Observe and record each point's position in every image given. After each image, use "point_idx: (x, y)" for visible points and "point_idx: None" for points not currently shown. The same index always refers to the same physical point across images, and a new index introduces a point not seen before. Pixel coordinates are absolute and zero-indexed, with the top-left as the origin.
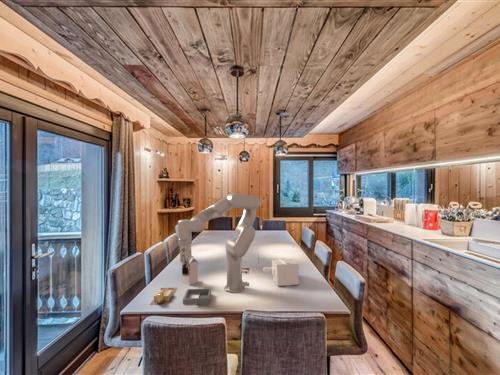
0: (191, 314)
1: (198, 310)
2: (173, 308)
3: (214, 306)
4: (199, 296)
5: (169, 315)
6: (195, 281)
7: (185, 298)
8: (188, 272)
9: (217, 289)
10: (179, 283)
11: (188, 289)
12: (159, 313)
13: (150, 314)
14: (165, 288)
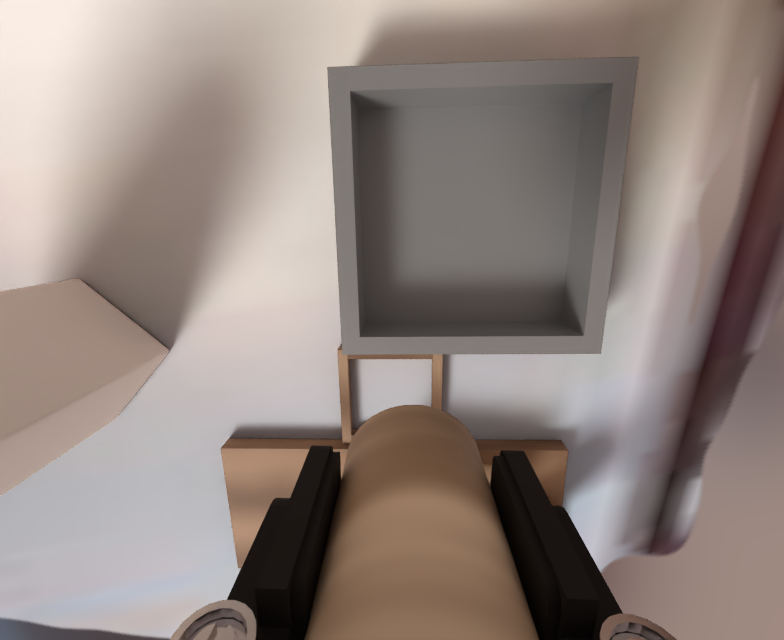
0: (748, 234)
1: (687, 181)
2: (600, 399)
3: (639, 19)
4: (413, 211)
5: (714, 404)
6: (79, 305)
7: (557, 333)
8: (459, 451)
9: (210, 27)
10: (95, 448)
11: (355, 340)
12: (661, 477)
13: (661, 529)
14: (247, 537)
